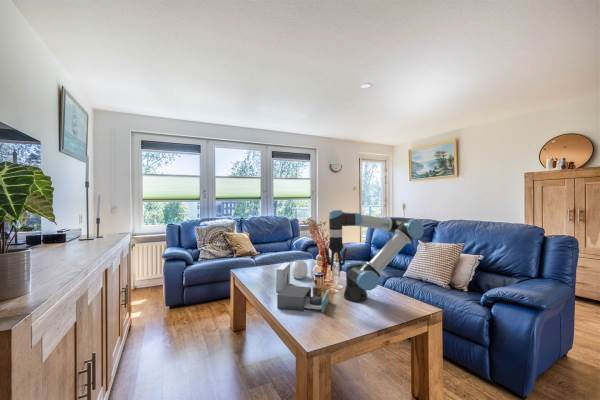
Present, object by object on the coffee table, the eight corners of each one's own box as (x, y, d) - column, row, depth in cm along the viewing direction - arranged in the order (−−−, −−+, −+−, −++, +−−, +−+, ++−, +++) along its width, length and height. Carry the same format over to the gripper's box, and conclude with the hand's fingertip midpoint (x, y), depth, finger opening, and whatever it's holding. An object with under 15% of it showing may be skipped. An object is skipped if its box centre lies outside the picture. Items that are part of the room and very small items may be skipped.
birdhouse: (328, 301, 165) (328, 290, 165) (323, 312, 148) (323, 300, 148) (304, 299, 169) (304, 288, 169) (297, 310, 152) (296, 298, 152)
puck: (311, 299, 163) (311, 295, 163) (323, 301, 161) (323, 296, 161) (308, 304, 155) (308, 300, 155) (321, 305, 153) (321, 301, 153)
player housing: (310, 299, 168) (310, 287, 168) (303, 311, 151) (303, 297, 151) (287, 297, 173) (286, 285, 173) (277, 308, 155) (277, 294, 155)
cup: (291, 275, 223) (291, 259, 223) (306, 275, 224) (306, 259, 224) (292, 280, 210) (292, 263, 210) (309, 279, 211) (308, 262, 211)
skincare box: (283, 292, 183) (283, 269, 183) (275, 292, 184) (275, 269, 184) (290, 283, 203) (290, 262, 203) (283, 282, 204) (283, 262, 204)
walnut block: (321, 296, 174) (321, 285, 174) (319, 299, 170) (319, 288, 170) (314, 296, 175) (314, 285, 175) (313, 298, 171) (313, 287, 171)
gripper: (349, 236, 157) (350, 275, 157) (323, 235, 161) (324, 274, 161) (348, 237, 149) (349, 279, 149) (321, 237, 154) (321, 277, 154)
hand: (336, 276), depth 155 cm, fingers open, 3 cm apart
